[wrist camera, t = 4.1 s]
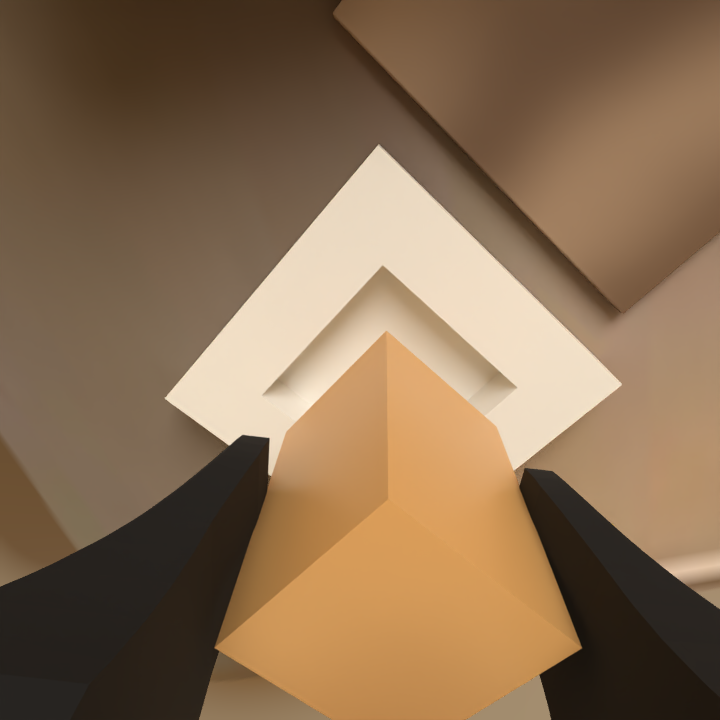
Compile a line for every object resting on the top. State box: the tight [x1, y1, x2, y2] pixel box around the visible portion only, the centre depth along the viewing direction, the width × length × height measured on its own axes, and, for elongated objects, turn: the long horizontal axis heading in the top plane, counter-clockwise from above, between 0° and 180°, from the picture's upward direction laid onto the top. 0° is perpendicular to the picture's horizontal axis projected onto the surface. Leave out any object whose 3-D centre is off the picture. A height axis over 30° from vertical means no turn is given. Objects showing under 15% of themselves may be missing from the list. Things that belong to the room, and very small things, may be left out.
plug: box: [215, 331, 582, 720], centre depth 11 cm, size 4×4×6 cm
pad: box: [333, 0, 720, 313], centre depth 14 cm, size 12×9×1 cm
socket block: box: [165, 144, 622, 476], centre depth 17 cm, size 10×10×2 cm
